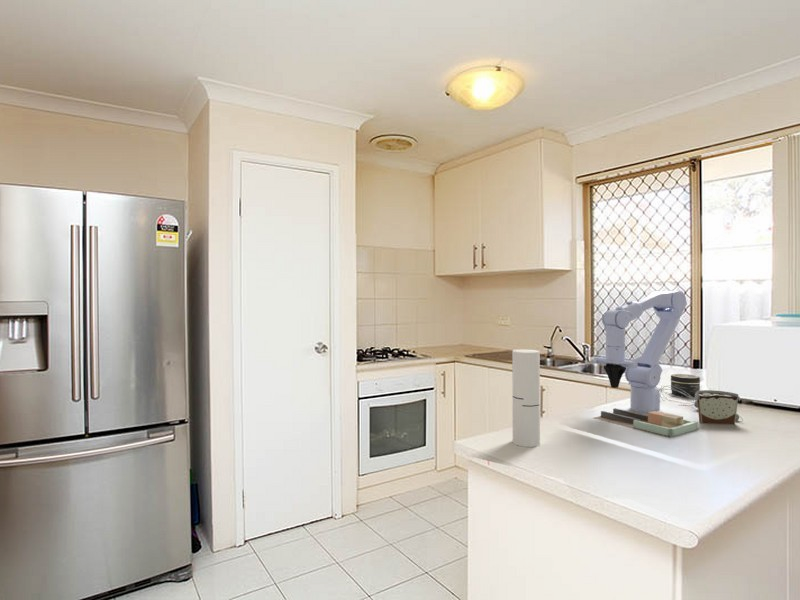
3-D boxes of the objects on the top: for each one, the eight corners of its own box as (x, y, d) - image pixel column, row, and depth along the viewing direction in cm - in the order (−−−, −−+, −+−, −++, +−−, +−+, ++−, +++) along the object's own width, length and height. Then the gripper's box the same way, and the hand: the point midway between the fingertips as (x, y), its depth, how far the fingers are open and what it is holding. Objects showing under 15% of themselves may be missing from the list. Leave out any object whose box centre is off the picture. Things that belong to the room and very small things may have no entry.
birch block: (669, 427, 136) (669, 413, 136) (683, 430, 133) (683, 416, 133) (661, 429, 134) (661, 415, 134) (675, 432, 131) (675, 418, 131)
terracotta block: (655, 423, 140) (655, 410, 140) (668, 427, 136) (668, 413, 136) (647, 425, 138) (647, 412, 138) (661, 429, 134) (661, 415, 134)
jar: (705, 395, 183) (705, 376, 183) (691, 398, 178) (691, 378, 178) (679, 391, 191) (679, 372, 191) (665, 394, 186) (665, 375, 186)
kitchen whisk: (734, 424, 143) (734, 403, 143) (653, 400, 176) (653, 384, 176) (750, 423, 145) (750, 402, 145) (667, 400, 178) (667, 383, 178)
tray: (659, 420, 144) (659, 413, 144) (697, 428, 134) (697, 422, 134) (633, 427, 136) (633, 420, 136) (671, 436, 127) (671, 429, 127)
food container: (727, 421, 145) (727, 390, 145) (740, 427, 139) (740, 394, 139) (686, 421, 146) (686, 389, 146) (696, 426, 140) (696, 393, 140)
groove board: (622, 414, 155) (622, 406, 155) (699, 431, 135) (699, 423, 135) (592, 421, 147) (592, 413, 147) (669, 441, 126) (669, 432, 126)
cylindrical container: (519, 437, 131) (519, 348, 130) (544, 442, 126) (543, 350, 126) (508, 443, 125) (507, 351, 125) (533, 448, 121) (533, 353, 120)
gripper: (588, 344, 157) (587, 384, 157) (628, 349, 145) (628, 392, 145) (601, 344, 161) (600, 383, 161) (641, 348, 148) (641, 390, 148)
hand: (614, 387), depth 153 cm, fingers closed
